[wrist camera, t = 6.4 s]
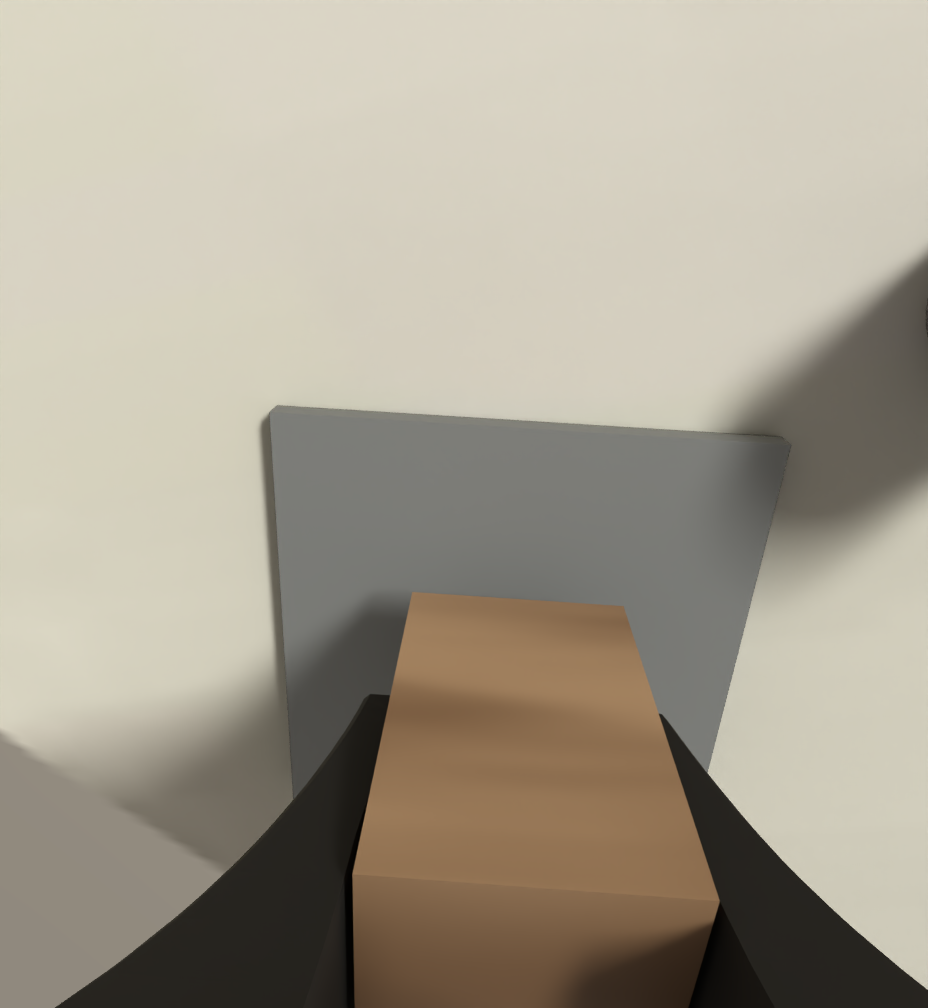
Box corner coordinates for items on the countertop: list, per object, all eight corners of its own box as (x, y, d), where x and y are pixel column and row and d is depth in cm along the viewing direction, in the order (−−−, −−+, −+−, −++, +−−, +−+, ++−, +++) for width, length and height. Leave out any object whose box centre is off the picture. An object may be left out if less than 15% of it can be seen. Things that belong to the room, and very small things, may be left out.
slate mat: (688, 811, 17) (693, 827, 17) (298, 783, 18) (293, 798, 17) (781, 436, 14) (791, 444, 13) (276, 405, 14) (269, 412, 13)
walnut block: (596, 767, 15) (658, 1109, 9) (407, 754, 15) (356, 1086, 9) (623, 606, 13) (719, 900, 7) (412, 592, 13) (352, 873, 7)
